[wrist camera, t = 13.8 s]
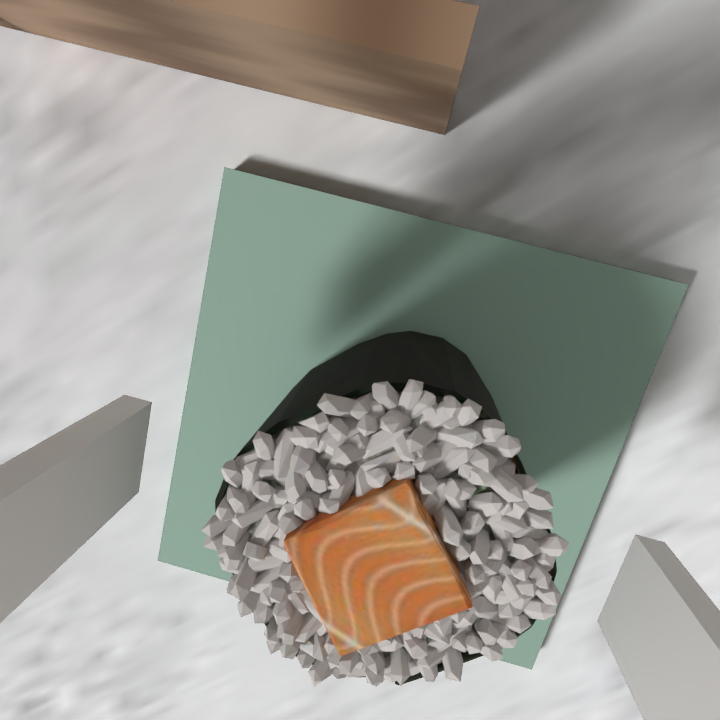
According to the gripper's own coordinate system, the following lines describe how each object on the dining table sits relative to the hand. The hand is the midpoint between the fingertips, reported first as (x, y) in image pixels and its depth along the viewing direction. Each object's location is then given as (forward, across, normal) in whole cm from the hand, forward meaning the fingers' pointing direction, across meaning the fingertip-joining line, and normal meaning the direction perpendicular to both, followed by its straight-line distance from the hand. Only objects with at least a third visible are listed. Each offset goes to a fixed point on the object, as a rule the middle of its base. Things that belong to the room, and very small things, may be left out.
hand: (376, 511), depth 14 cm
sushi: (+6, 0, 0) cm, 6 cm away
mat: (+7, 0, 0) cm, 7 cm away
